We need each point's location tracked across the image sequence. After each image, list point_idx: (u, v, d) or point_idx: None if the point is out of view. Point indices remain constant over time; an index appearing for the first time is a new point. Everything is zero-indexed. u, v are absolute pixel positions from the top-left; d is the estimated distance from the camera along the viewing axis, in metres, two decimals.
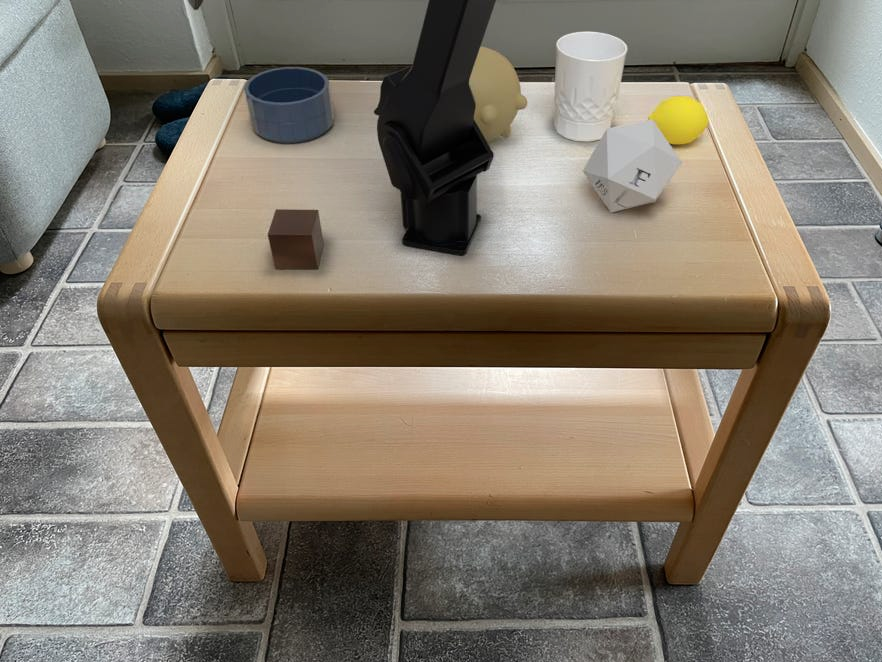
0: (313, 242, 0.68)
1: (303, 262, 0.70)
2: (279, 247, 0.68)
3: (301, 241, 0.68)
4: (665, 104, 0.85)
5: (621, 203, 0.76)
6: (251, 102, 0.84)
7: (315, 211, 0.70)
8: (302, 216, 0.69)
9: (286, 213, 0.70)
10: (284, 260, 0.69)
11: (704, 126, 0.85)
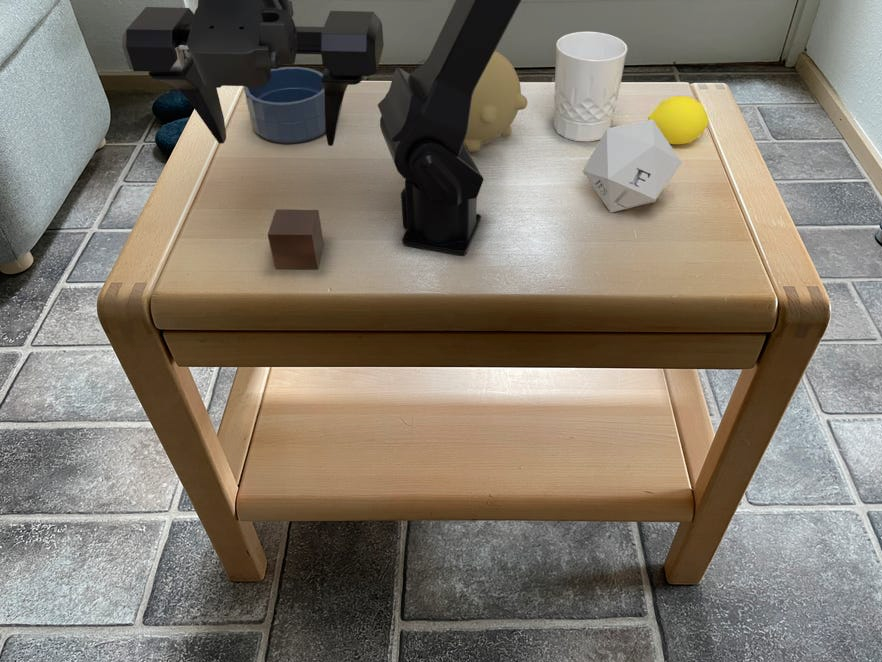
0: (313, 242, 0.68)
1: (303, 262, 0.70)
2: (279, 247, 0.68)
3: (301, 241, 0.68)
4: (665, 104, 0.85)
5: (621, 203, 0.76)
6: (251, 102, 0.84)
7: (315, 211, 0.70)
8: (302, 216, 0.69)
9: (286, 213, 0.70)
10: (284, 260, 0.69)
11: (704, 126, 0.85)
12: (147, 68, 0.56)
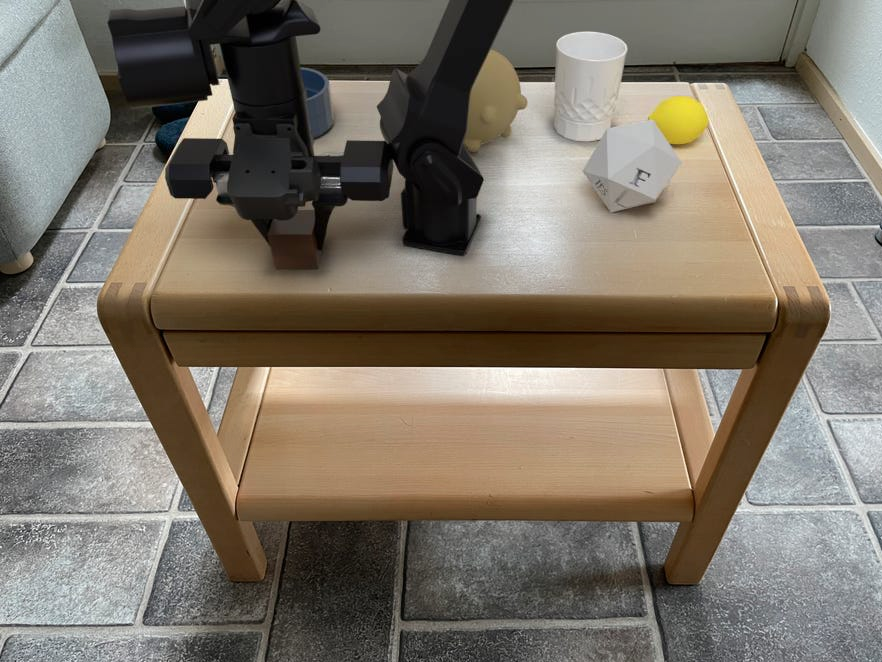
0: (313, 242, 0.68)
1: (303, 262, 0.70)
2: (279, 247, 0.68)
3: (301, 241, 0.68)
4: (665, 104, 0.85)
5: (621, 203, 0.76)
6: None
7: None
8: (302, 216, 0.69)
9: None
10: (284, 260, 0.69)
11: (704, 126, 0.85)
12: (187, 196, 0.63)
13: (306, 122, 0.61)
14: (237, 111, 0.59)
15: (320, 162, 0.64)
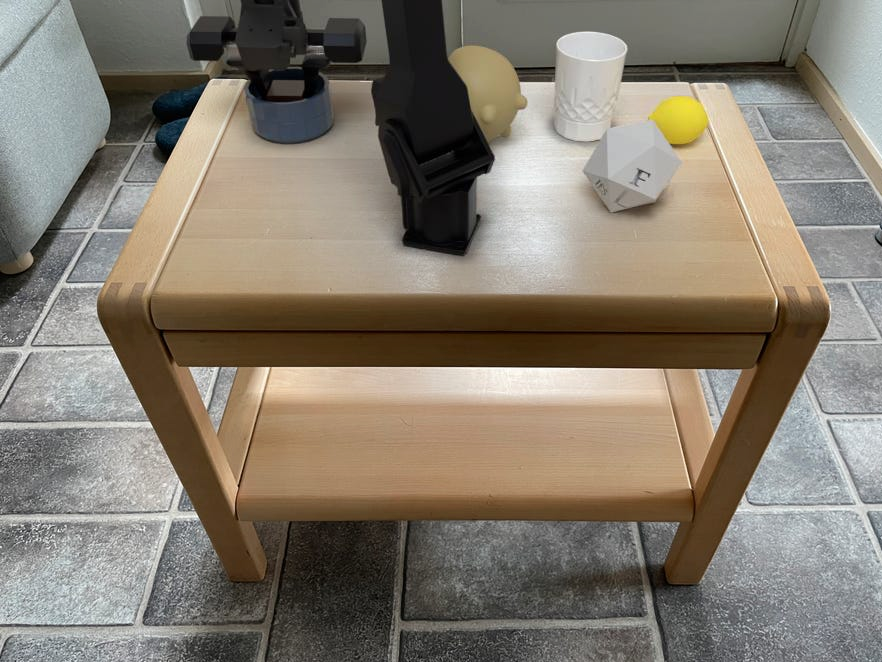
0: None
1: None
2: None
3: None
4: (665, 104, 0.85)
5: (621, 203, 0.76)
6: (251, 102, 0.84)
7: None
8: (294, 84, 0.87)
9: (281, 82, 0.87)
10: None
11: (704, 126, 0.85)
12: (203, 58, 0.81)
13: None
14: None
15: (308, 33, 0.81)
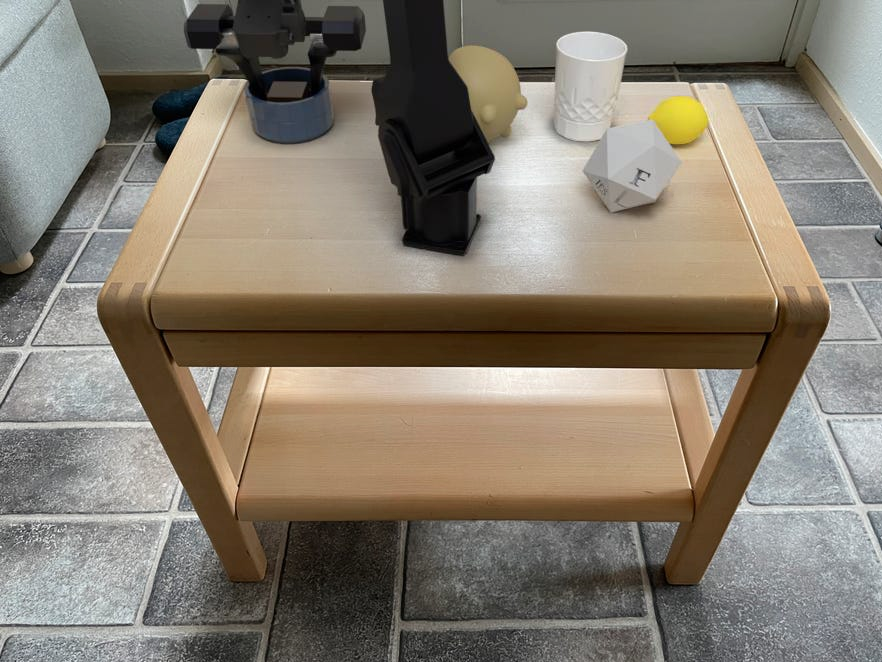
0: None
1: None
2: None
3: None
4: (665, 104, 0.85)
5: (621, 203, 0.76)
6: (251, 102, 0.84)
7: (304, 82, 0.88)
8: (294, 86, 0.87)
9: (281, 83, 0.87)
10: None
11: (704, 126, 0.85)
12: (201, 46, 0.80)
13: None
14: None
15: (306, 21, 0.80)
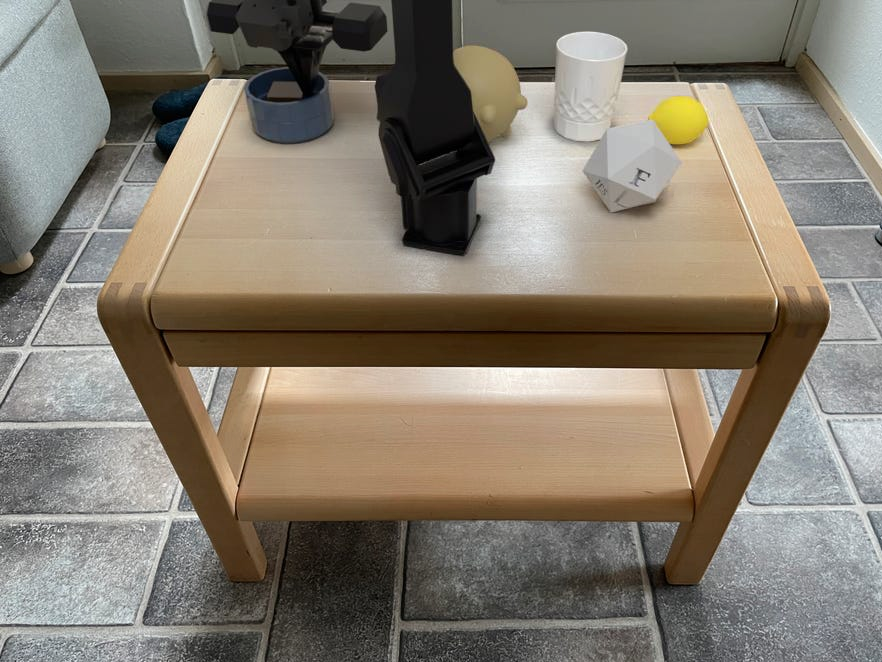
0: None
1: None
2: None
3: None
4: (665, 104, 0.85)
5: (621, 203, 0.76)
6: (251, 102, 0.84)
7: None
8: (294, 86, 0.87)
9: (281, 83, 0.87)
10: None
11: (704, 126, 0.85)
12: (219, 30, 0.80)
13: None
14: None
15: (323, 15, 0.79)
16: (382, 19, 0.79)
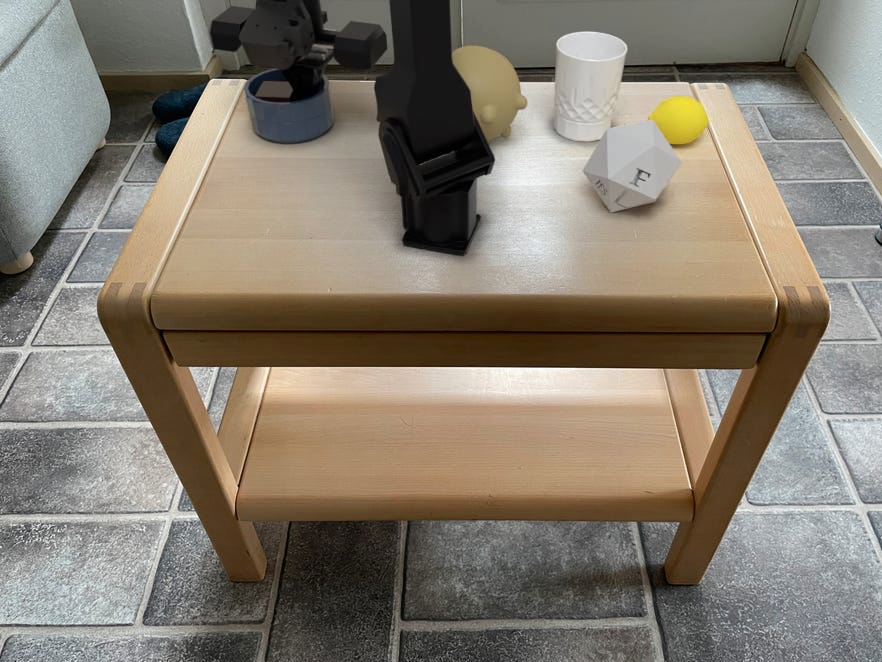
0: None
1: None
2: None
3: None
4: (665, 104, 0.85)
5: (621, 203, 0.76)
6: (251, 102, 0.84)
7: None
8: (283, 86, 0.87)
9: (271, 83, 0.87)
10: None
11: (704, 126, 0.85)
12: (222, 48, 0.81)
13: None
14: None
15: (324, 34, 0.80)
16: (382, 37, 0.80)
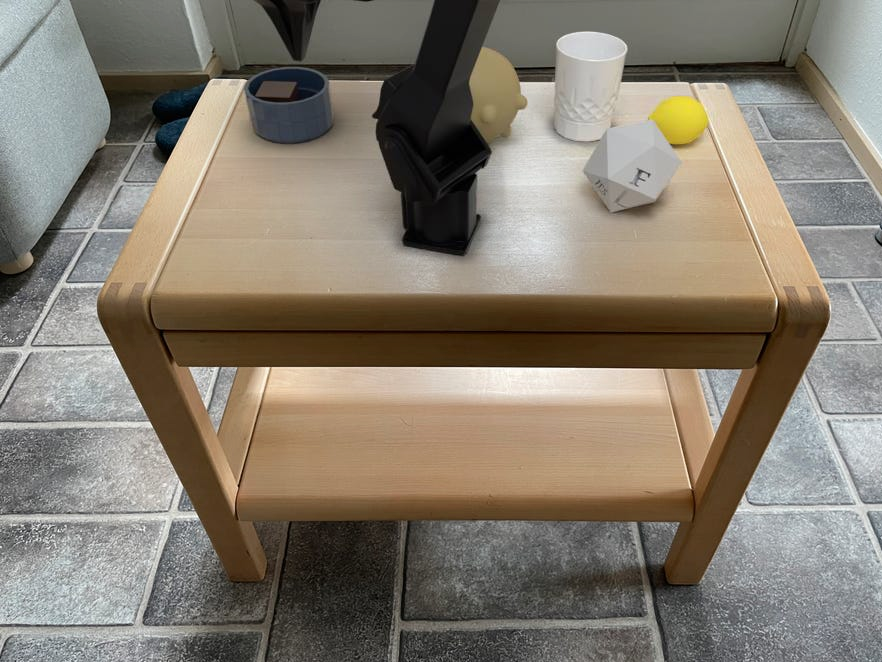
0: None
1: None
2: None
3: None
4: (665, 104, 0.85)
5: (621, 203, 0.76)
6: (251, 102, 0.84)
7: (294, 83, 0.87)
8: (283, 86, 0.87)
9: (271, 83, 0.87)
10: None
11: (704, 126, 0.85)
12: None
13: None
14: None
15: None
16: None
